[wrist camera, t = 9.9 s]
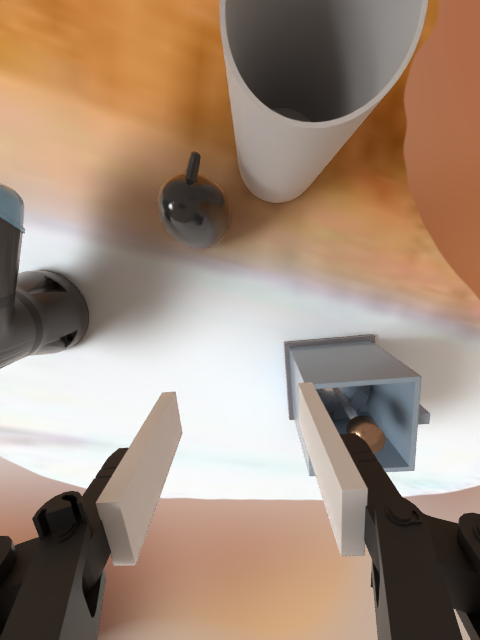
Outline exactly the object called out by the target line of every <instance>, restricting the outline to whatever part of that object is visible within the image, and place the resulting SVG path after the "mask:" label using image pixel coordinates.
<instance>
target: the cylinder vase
mask: <svg viewBox="0 0 480 640" xmlns="http://www.w3.org/2000/svg"><path fill="white" fill-rule="evenodd" d="M427 5H428V0H220V28H221V36H222V43H223V51H224V59H225V66H226V74H227V82H228V89H229V97H230V105H231V112H232V120H233V127H234V135H235V143H236V150H237V158H238V166H239V171H240V175H241V177H242V180H243V182H244V184H245V185H246V187H247V188H248V189H249V190H250V192H251V193H253V194H254V195H255V196H256V197H258V198H260V199H262V200H264V201H267V202H271V203H283V202H287V201H290V200H293V199H295V198H297V197H298V196H300V195H301V194H302V193H303V192H304V191H306V190H307V188H308V187H309V186H310V185H311V184H312V182H313V181H314V180H315V179H316V178H317V176H318V175H319V174H320V173H321V172H322V170H323V169H324V168H325V167H326V166H327V164H328V163H329V162H330V161H331V160H332V158H333V157H334V156H335V155H336V154H337V152H338V151H339V150H340V149H341V148H342V146H343V145H344V144H345V143H346V142H347V141H348V139H349V138H350V137H351V136H352V135H353V133H354V132H355V131H356V130H357V129H358V127H359V126H360V125H361V124H362V123H363V121H364V120H365V119H366V118H367V117H368V115H369V114H370V113H371V112H372V111H373V109H374V108H375V107H376V106H377V105H378V103H379V102H380V101H381V100H382V99H383V97H384V96H385V95H386V94H387V93H388V91H389V90H390V89H391V88H392V87H393V85H394V84H395V83H396V82H397V80H398V79H399V77H400V76H401V74H402V73H403V71H404V70H405V68H406V66H407V65H408V63H409V61H410V59H411V57H412V55H413V53H414V51H415V48H416V46H417V44H418V41H419V38H420V35H421V32H422V29H423V25H424V21H425V16H426V11H427Z"/></svg>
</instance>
